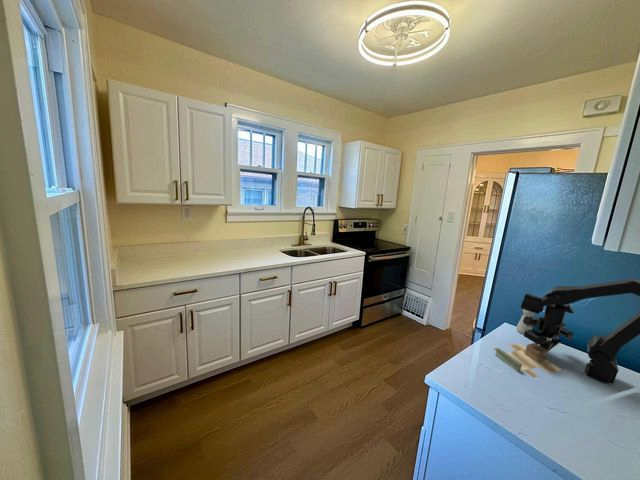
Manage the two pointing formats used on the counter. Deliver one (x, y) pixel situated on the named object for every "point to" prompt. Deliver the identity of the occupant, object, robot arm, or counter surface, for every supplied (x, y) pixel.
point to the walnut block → (536, 352)
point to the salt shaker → (521, 326)
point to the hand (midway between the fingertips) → (543, 353)
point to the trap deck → (524, 360)
